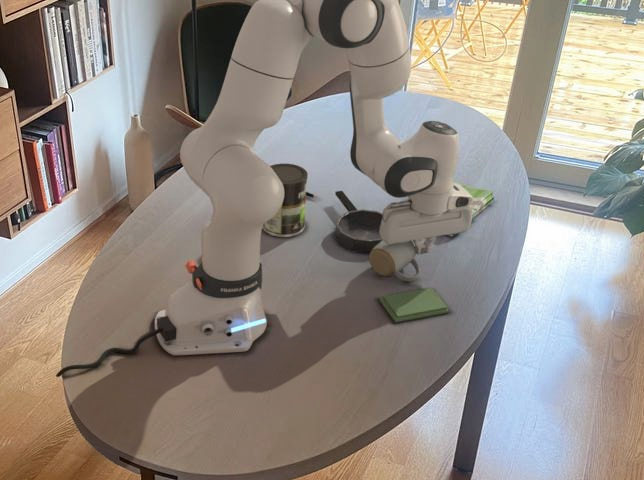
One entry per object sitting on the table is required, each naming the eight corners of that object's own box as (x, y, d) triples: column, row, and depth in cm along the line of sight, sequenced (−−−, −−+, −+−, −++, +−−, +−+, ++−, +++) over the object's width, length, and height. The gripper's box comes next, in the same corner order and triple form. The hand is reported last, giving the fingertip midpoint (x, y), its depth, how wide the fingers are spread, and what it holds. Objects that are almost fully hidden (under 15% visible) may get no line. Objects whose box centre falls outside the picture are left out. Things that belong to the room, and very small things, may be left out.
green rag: (395, 322, 166) (395, 317, 166) (379, 300, 173) (379, 295, 172) (448, 312, 169) (449, 307, 169) (430, 291, 175) (431, 286, 175)
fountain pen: (320, 199, 207) (320, 193, 206) (317, 201, 206) (318, 195, 205) (272, 183, 213) (272, 178, 212) (269, 185, 212) (270, 180, 211)
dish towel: (390, 216, 200) (391, 203, 198) (433, 181, 215) (435, 168, 213) (454, 239, 192) (456, 226, 190) (495, 201, 207) (497, 188, 205)
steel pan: (349, 257, 186) (350, 244, 184) (312, 205, 204) (312, 193, 202) (404, 248, 189) (406, 235, 187) (363, 198, 207) (364, 186, 205)
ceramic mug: (365, 271, 181) (367, 242, 176) (387, 254, 186) (389, 226, 181) (406, 289, 175) (408, 260, 171) (427, 271, 180) (430, 242, 175)
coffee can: (307, 217, 199) (310, 165, 191) (301, 239, 191) (303, 186, 183) (266, 213, 201) (267, 160, 192) (257, 234, 193) (258, 181, 184)
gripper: (390, 211, 166) (383, 267, 175) (480, 197, 171) (469, 252, 180) (377, 196, 171) (372, 252, 180) (465, 183, 176) (456, 238, 184)
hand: (421, 252), depth 180 cm, fingers closed
